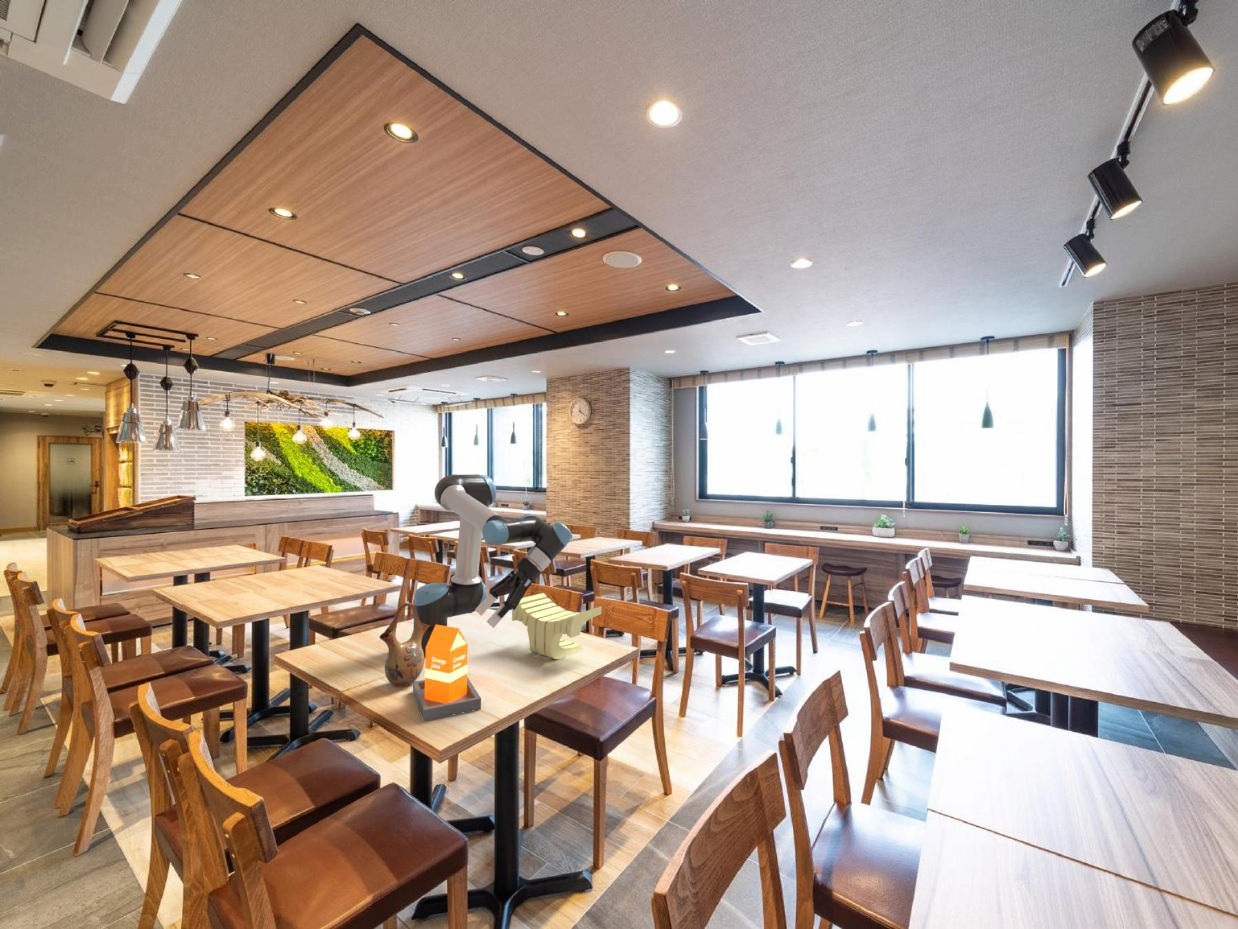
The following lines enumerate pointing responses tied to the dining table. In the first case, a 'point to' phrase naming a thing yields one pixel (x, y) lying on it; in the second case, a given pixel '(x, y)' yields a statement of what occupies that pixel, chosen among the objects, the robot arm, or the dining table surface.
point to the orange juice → (446, 665)
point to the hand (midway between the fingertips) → (483, 618)
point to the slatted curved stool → (551, 625)
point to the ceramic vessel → (404, 652)
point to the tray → (439, 710)
